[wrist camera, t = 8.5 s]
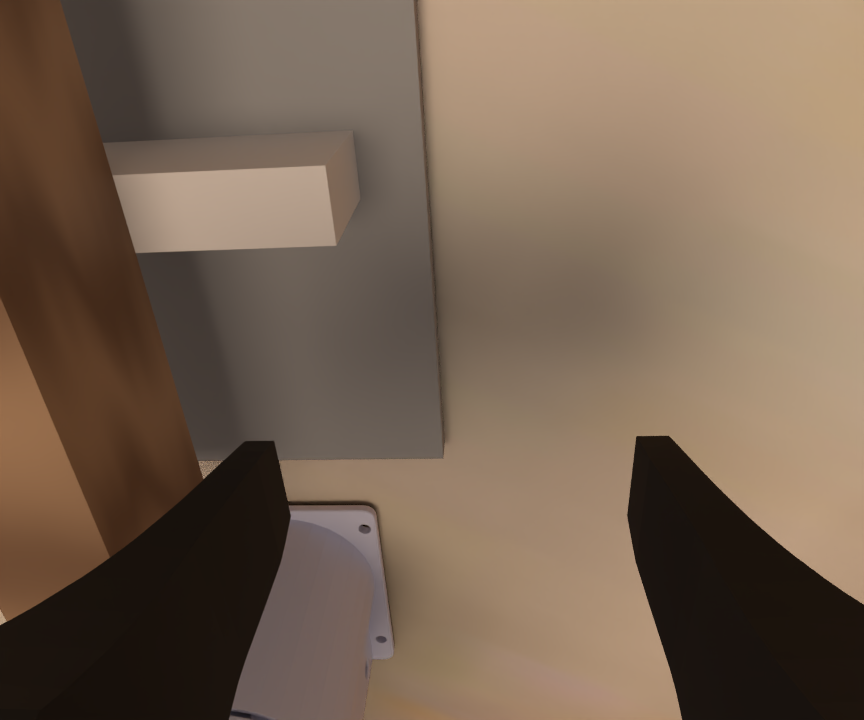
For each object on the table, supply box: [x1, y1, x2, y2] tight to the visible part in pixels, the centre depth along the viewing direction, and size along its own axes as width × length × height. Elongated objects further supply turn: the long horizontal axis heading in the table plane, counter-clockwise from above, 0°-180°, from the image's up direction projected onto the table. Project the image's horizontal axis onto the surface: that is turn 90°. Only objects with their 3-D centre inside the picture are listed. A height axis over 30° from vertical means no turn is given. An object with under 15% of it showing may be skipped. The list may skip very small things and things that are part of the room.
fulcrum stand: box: [60, 0, 445, 461], centre depth 19 cm, size 22×18×5 cm
